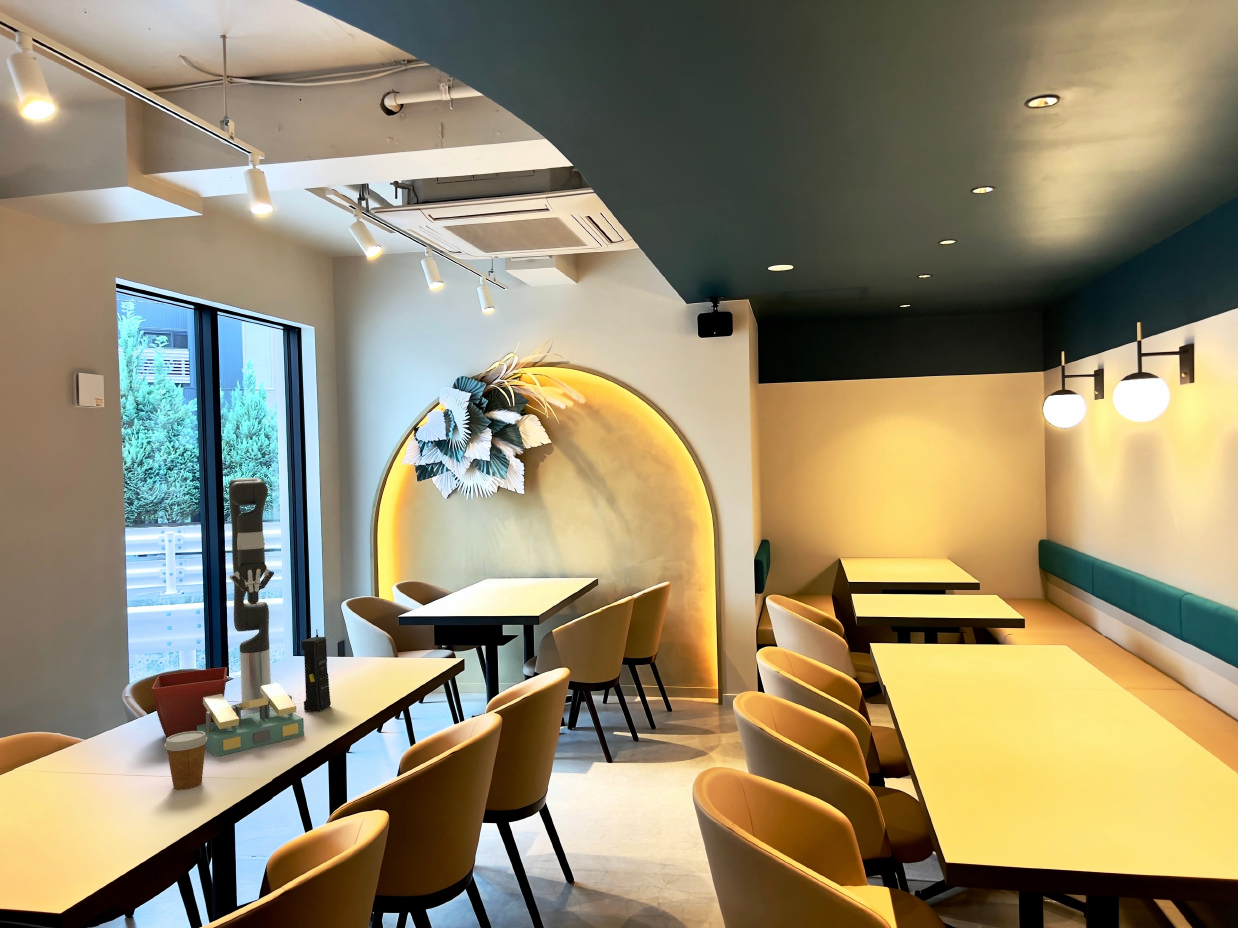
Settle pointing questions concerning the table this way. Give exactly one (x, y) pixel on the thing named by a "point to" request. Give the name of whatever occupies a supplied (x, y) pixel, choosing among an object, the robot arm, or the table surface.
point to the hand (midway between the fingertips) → (253, 603)
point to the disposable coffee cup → (186, 758)
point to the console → (251, 730)
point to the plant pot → (186, 698)
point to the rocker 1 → (220, 711)
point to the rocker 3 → (278, 699)
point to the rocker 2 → (252, 703)
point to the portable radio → (316, 674)
